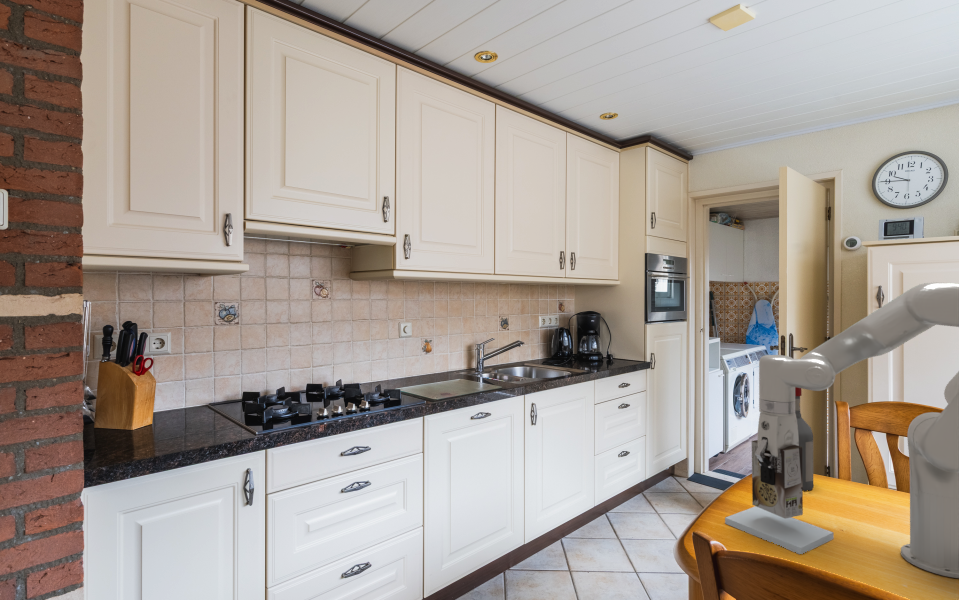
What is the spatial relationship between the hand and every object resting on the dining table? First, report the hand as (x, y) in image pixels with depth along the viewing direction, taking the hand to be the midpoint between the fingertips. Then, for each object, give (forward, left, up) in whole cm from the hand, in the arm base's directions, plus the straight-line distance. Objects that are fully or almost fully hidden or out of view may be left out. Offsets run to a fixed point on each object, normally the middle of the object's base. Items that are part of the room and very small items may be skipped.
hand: (776, 479), depth 123 cm
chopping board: (0, 0, -12) cm, 12 cm away
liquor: (+14, -34, -13) cm, 39 cm away
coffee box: (0, 0, -7) cm, 7 cm away
